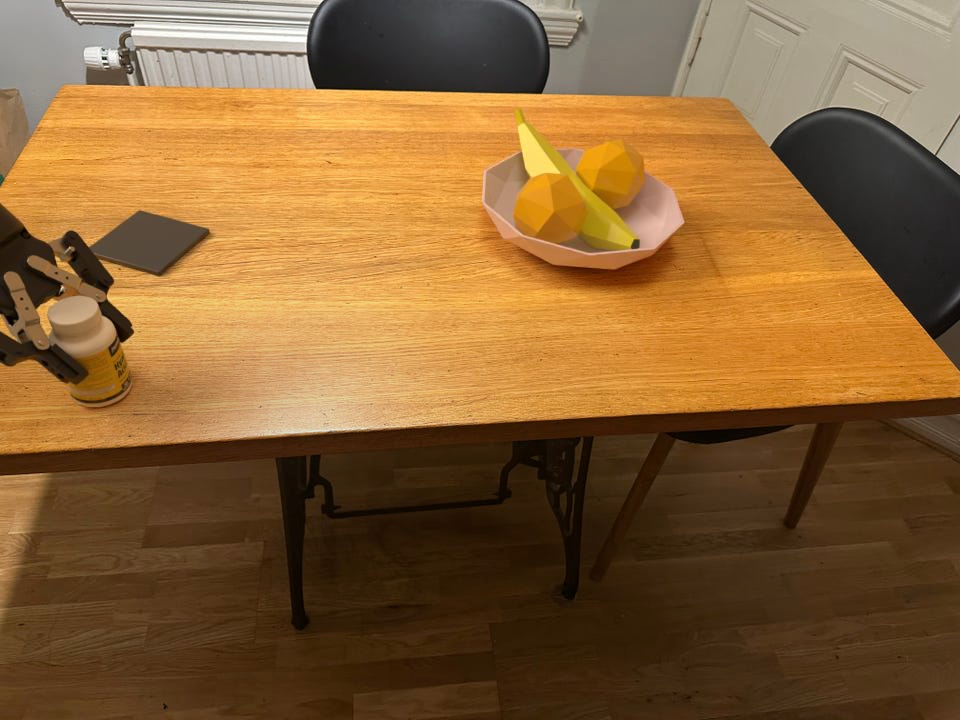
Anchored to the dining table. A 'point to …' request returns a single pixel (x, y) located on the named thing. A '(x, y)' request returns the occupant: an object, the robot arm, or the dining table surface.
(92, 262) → the robot arm
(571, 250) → the fruit bowl
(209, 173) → the dining table surface
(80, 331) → the supplement bottle
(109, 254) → the coaster
